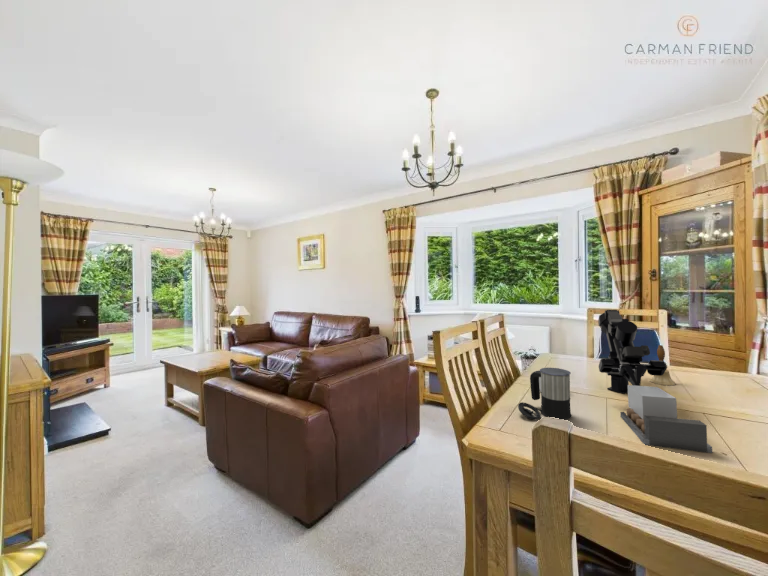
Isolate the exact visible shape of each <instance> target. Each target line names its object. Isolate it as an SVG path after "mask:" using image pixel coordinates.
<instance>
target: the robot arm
mask: <svg viewBox="0 0 768 576" xmlns="http://www.w3.org/2000/svg"><path fill="white" fill-rule="evenodd" d="M597 322H598V323H597V324H598V327H600V328H599V329H600V331H601V332H602V333H603V334H605V335H606V338H607V339H606V340H607V343H608V348H609V354H608V358H605V357H604V358H603V357H602V358H601V359H600V360H599V364H598V370H599V371H598V372H600V373H603V374H604V373H605V374H606V375H607V376H610V386H609V387H607V388H606V389H607V390H608V391H613V392H616V393H621V394H624V395H625V394H628V385H630V384H631V385H634V386H641V383H642V377H644V376H645V374H646V372H647V374H649V375H651V376H654V375H656V376H661V375H663V374H664V372H665V371H666V370H668V364H667V363H666V362H665V360H664V361H659V360H657V359H656V360H655V359H654V360H649V361H648V362H649V363H641V362H643V358H644V357H645V356H646V357H647V356H649V355H651V351H650V350H651V349H650V347H649V346H648V345H647V344H645V345H641V346H640V345H639V346H635V344H634V341H635V339H636V334H637V332H638V325H637V324H635V323H634V322H632V321H630V319H629V318H623V317H622V315H621V314H620V310H618V309H605V310H604V312H603V313H601V314H599V315H598V321H597ZM629 383H630V384H629Z"/></svg>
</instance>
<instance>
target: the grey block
mask: <svg viewBox="0 0 768 576" xmlns="http://www.w3.org/2000/svg"><path fill="white" fill-rule="evenodd" d="M627 401H628V403H627V405H628V408H629V409H633V410H634V412H635V413H636V414H638V415H639V416H640V417H641V418H642V419H643V420H644V415H646V416H656V417H667V418H678V409H677V408H678V407H677V406H678V405H677V398H676V397H675V396H673V395H671V394H670V393H668V392H666V391H665V390H663V389H661V388H660V387H658V386H648V385H640V386H634V385H632V384H631V385H630V384H629V385H628V393H627Z"/></svg>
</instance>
